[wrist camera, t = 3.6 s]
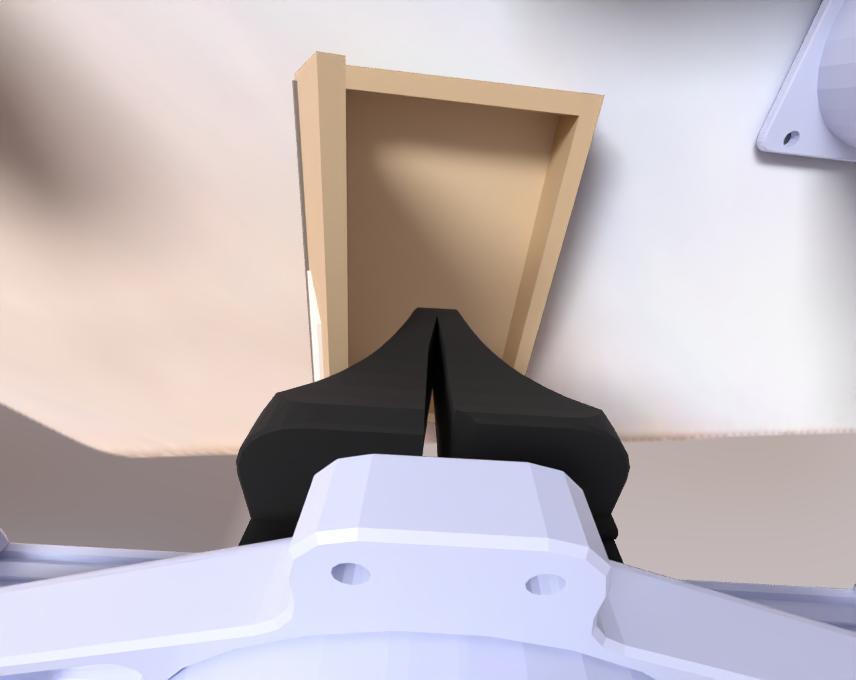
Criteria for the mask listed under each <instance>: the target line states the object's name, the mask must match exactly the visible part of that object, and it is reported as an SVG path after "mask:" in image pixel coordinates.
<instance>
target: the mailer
mask: <svg viewBox="0 0 856 680" xmlns="http://www.w3.org/2000/svg"><path fill="white" fill-rule="evenodd" d="M345 74H346V182H347V290H348V367H350V366H352V365H354V364H356V363H358V362H359V361H361V360H363V359H365V358H366V357H368V356H369V355H371V354H372V353H373V352H375V351H376V350H377V349H379V348H380V347H381V346H382V345H383V344H384V343H385V342H387V341H388V340H389V339H390V338H391V337H392V336H393V335H394V334H395V333H396V332H397V331H398V330H399V329H400V328H401V326H402V325H403V324H404V323H405V322H406V321H407V319H408V318H409V317H410V315H411V314H412V313H413V311H414V310H415V309H416V308H417V307H422V308H441V309H457V310H458V312H459V313H460V314H461V316H462V317H463V319H464V320H465V321H466V323H467V324H468V325H469V327H470V328H471V329H472V330H473V332H474V333H475V334H476V335H477V336H478V338H479V339H480V340H481V341H482V342H483V343H484V344H485V345H486V346H487V347H488V348H489V349H490V350H491V351H492V352H493V353H494V354H496V355H497V356H498V357H499V358H500V359H502V360H503V361H504V362H506V363H507V364H508V365H509V366H511V367H512V368H514V369H515V370H517V371H518V372H519V373H521V374H523V375H524V376H525V375H526V371H527V368H528V364H529V361H530V357H531V354H532V350H533V347H534V343H535V340H536V336H537V332H538V329H539V325H540V322H541V318H542V315H543V311H544V308H545V304H546V301H547V297H548V294H549V290H550V286H551V283H552V279H553V276H554V272H555V269H556V265H557V262H558V258H559V255H560V251H561V248H562V244H563V240H564V237H565V233H566V230H567V226H568V223H569V219H570V216H571V212H572V209H573V205H574V202H575V198H576V194H577V191H578V187H579V184H580V180H581V177H582V173H583V170H584V166H585V163H586V159H587V155H588V152H589V148H590V145H591V141H592V138H593V134H594V131H595V127H596V124H597V120H598V117H599V113H600V109H601V106H602V102H603V99H604V95H597V94H589V93H580V92H572V91H563V90H555V89H546V88H538V87H529V86H521V85H512V84H504V83H495V82H487V81H478V80H470V79H461V78H453V77H444V76H436V75H427V74H419V73H410V72H402V71H393V70H385V69H376V68H368V67H360V66H351V65H345ZM427 422H429V423H435V413H434V401H433V389H432V395H431V401H430V407H429V414H428V420H427Z"/></svg>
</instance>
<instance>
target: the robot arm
mask: <svg viewBox="0 0 856 680" xmlns="http://www.w3.org/2000/svg"><path fill="white" fill-rule="evenodd" d="M790 132H791V138H790V140H789V141H788V143H787V144H785V145H784V143H783V142H784V138H785V137H786V136H787V134H789V133H790ZM757 147H758V148H759V150H761V151H764V152H771V153H780V154H789V155H797V156H806V157H815V158H823V159H832V160H841V161H850V162H856V0H823V1H822V3H821V5H820V8H819V10H818V12H817V14H816V16H815V18H814V20H813V22H812V24H811V26H810V29H809V31H808V33H807V35H806V37H805V39H804V41H803V43H802V45H801V47H800V49H799V52H798V54H797V56H796V58H795V60H794V62H793V64H792V66H791V68H790V70H789V72H788V75H787V77H786V79H785V81H784V83H783V85H782V87H781V89H780V91H779V93H778V95H777V98H776V100H775V102H774V104H773V106H772V108H771V110H770V112H769V114H768V116H767V119H766V121H765V123H764V125H763V127H762V129H761V131H760V133H759V135H758V139H757ZM432 389H433V401H434V413H435V425H436V437H437V454H438V457H425V456H422V454H423V446H424V439H425V433H426V426H427V420H428V414H429V407H430V401H431V395H432ZM236 465H237V474H238V477H239V481H240V484H241V487H242V490H243V494H244V497H245V500H246V504H247V507H248V510H249V513H250V517H251V520H250V522H249V524H248V526H247V528H246V531H245V533H244V535H243V537H242V539H241V541H240V543H239V545H238V546H237V547H231V548H225V549H220V550H214V551H208V552H202V553H188V552H170V551H152V550H134V549H116V548H97V547H79V546H61V545H44V544H26V543H25V544H24V543H9V542H8V538H7V536H6V535H5V533H4V532H3V531H2V529H1V528H0V680H856V584H855V585H854V588H853V589H839V588H821V587H804V586H803V587H802V586H785V585H766V584H749V583H730V582H713V581H695V580H694V581H693V580H677V579H673V578H670V577H667V576H663V575H660V574H656V573H653V572H650V571H646V570H643V569H640V568H636V567H633V566H629V565H626V564H624V563H623V561H622V559H621V556H620V554H619V551H618V549H617V546H616V544H615V541H614V539H616V538H617V536H618V529H617V527H616V524H615V522H614V519H613V517H612V515H611V513H612V511H613V509H614V507H615V504H616V502H617V500H618V498H619V496H620V494H621V491H622V489H623V487H624V485H625V483H626V480H627V477H628V472H629V469H630V465H629V458H628V454H627V452H626V450H625V449H624V446H623V445H622V443H621V441H620V439H619V437H618V435H617V433H616V431H615V430H614V428H613V426H612V425H611V423H610V422H609V420H608V419H607V417H606V415H605V414H604V413H603V411H602V410H600V409H597V408H594V407H592V406H589V405H586V404H583V403H581V402H578V401H575V400H573V399H570V398H567V397H565V396H563V395H561V394H558V393H556V392H554V391H552V390H550V389H548V388H546V387H544V386H542V385H540V384H538V383H536V382H534V381H533V380H531V379H529V378H528V377H526V376H524V375H523V374H521V373H519V372H518V371H517V370H515V369H514V368H512V367H511V366H509V365H508V364H507V363H506V362H504V361H503V360H502V359H500V358H499V357H498V356H497V355H496V354H494V353H493V352H492V351H491V350H490V349H489V348H488V347H487V346H486V345H485V344H484V343H483V342H482V341H481V340H480V339H479V338H478V336H477V335H476V334H475V333H474V332H473V330H472V329H471V328H470V327H469V325H468V324H467V323H466V321H465V320H464V319H463V317H462V316H461V314H460V313H459V312H458V310H457V309H441V308H422V307H417V308H416V309H415V310H414V311H413V313H412V314H411V315H410V317H409V318H408V319H407V321H406V322H405V323H404V324H403V325H402V326H401V328H400V329H399V330H398V331H397V332H396V333H395V334H394V335H393V336H392V337H391V338H390V339H389V340H388V341H387V342H385V343H384V344H383V345H382V346H381V347H380V348H379V349H377V350H376V351H375V352H373V353H372V354H371V355H369V356H368V357H366V358H365V359H363V360H361V361H359V362H358V363H356V364H354V365H352V366H350V367H348V368H346V369H345V370H343V371H341V372H338V373H336V374H334V375H331V376H329V377H326V378H324V379H321V380H319V381H316V382H313V383H310V384H307V385H303V386H300V387H296V388H293V389H289V390H286V391H282V392H278V393H276V394H275V396H274V397H273V398H272V400H271V401H270V402H269V403H268V405H267V406H266V407H265V408H264V410H263V411H262V413H261V414H260V416H259V417H258V419H257V421H256V422H255V424H254V426H253V427H252V429H251V431H250V432H249V434H248V436H247V437H246V439H245V441H244V442H243V444H242V446H241V447H240V450H239V453H238V456H237V460H236Z"/></svg>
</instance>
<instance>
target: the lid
mask: <svg viewBox="0 0 856 680" xmlns="http://www.w3.org/2000/svg"><path fill="white" fill-rule="evenodd" d="M292 84H293V98H294V113H295V128H296V142H297V157H298V172H299V186H300V201H301V215H302V230H303V245H304V259H305V274H306V289H307V303H308V318H309V332H310V347H311V362H312V376H313V382H316V381H319V380H321V379H324V378H326V377H329V376H331V375H334V374H336V373H338V372H341V371H343V370H345V369H346V368H348V290H347V182H346V74H345V56H344V55H337V54H331V53H324V52H318V51H316V52H315V53H314V54H313V55H312V56H311V58H310V59H309V60H308V61H307V62H306V63H305V64H304V65H303V66H302V67H301V68H300V69H299V70H298V71H297V72H296V73H295V81H294V80H293V81H292Z"/></svg>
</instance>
